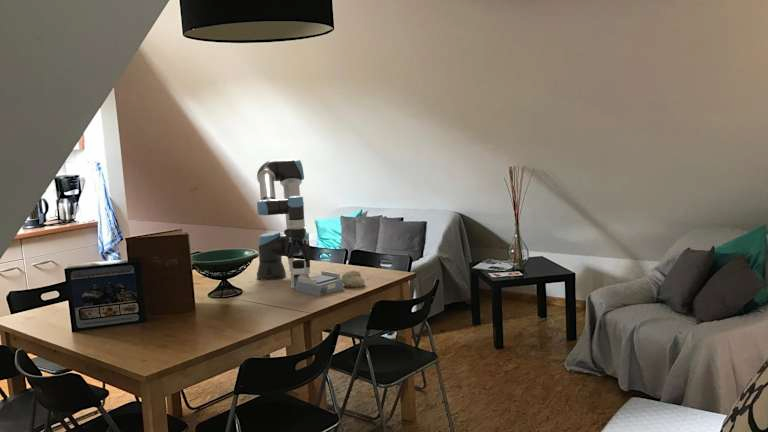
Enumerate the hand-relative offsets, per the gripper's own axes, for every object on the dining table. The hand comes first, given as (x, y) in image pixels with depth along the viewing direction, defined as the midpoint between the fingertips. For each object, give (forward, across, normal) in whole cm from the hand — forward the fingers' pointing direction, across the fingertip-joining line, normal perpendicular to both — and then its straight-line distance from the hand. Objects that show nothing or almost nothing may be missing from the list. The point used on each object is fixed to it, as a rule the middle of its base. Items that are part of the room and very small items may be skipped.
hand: (299, 272), depth 330 cm
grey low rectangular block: (+7, +14, 0) cm, 16 cm away
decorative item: (+7, +21, +15) cm, 27 cm away
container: (+7, 0, 0) cm, 7 cm away
